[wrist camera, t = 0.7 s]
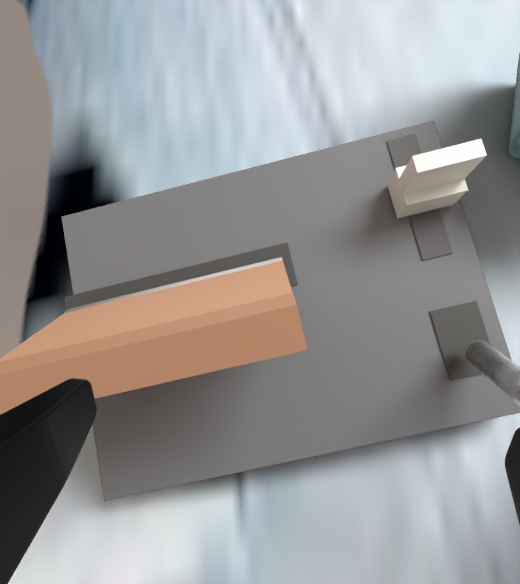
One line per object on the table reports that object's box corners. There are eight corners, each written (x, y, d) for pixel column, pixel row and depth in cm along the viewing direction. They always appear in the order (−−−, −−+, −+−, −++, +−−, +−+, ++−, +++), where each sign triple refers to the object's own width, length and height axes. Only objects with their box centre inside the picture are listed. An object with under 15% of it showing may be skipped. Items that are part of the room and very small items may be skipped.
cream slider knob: (453, 205, 22) (491, 168, 17) (397, 218, 22) (421, 185, 18) (441, 170, 22) (476, 126, 18) (387, 184, 22) (408, 143, 18)
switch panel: (503, 404, 23) (529, 411, 20) (116, 487, 24) (94, 503, 21) (420, 143, 25) (434, 119, 23) (76, 231, 26) (52, 218, 24)
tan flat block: (287, 279, 22) (307, 350, 13) (79, 329, 23) (-35, 428, 14) (280, 251, 22) (296, 304, 13) (69, 302, 23) (-56, 387, 14)
